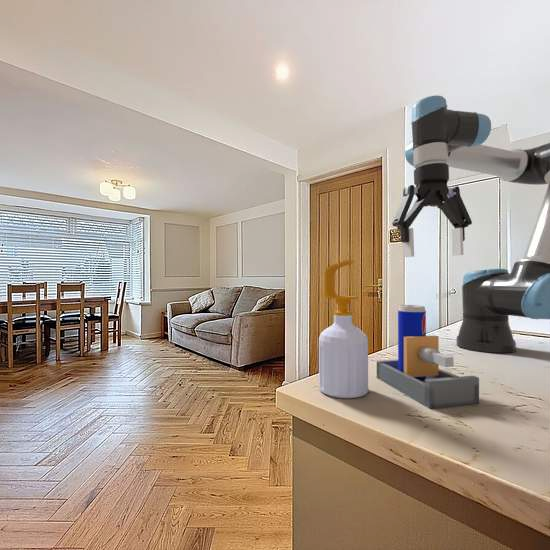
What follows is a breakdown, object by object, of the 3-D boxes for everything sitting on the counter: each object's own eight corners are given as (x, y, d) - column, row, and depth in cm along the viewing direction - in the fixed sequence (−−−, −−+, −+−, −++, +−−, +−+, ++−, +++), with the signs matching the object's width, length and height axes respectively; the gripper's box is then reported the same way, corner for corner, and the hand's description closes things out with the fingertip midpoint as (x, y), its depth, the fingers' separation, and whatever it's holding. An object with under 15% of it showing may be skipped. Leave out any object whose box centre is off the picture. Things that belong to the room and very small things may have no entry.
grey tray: (416, 374, 73) (416, 354, 73) (479, 403, 56) (479, 377, 56) (376, 377, 71) (376, 356, 71) (429, 408, 54) (429, 381, 54)
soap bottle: (359, 403, 57) (359, 258, 57) (310, 393, 62) (310, 260, 62) (374, 388, 64) (373, 260, 64) (329, 380, 69) (329, 261, 69)
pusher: (435, 373, 65) (435, 335, 65) (466, 387, 57) (466, 343, 57) (403, 376, 64) (403, 336, 64) (431, 390, 56) (431, 345, 56)
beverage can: (428, 385, 64) (428, 307, 64) (400, 383, 65) (399, 306, 65) (423, 377, 69) (422, 304, 69) (396, 376, 70) (396, 304, 70)
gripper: (462, 173, 86) (464, 255, 86) (375, 169, 80) (378, 258, 80) (487, 163, 79) (490, 253, 79) (393, 158, 72) (397, 256, 73)
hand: (434, 256), depth 79 cm, fingers open, 13 cm apart
